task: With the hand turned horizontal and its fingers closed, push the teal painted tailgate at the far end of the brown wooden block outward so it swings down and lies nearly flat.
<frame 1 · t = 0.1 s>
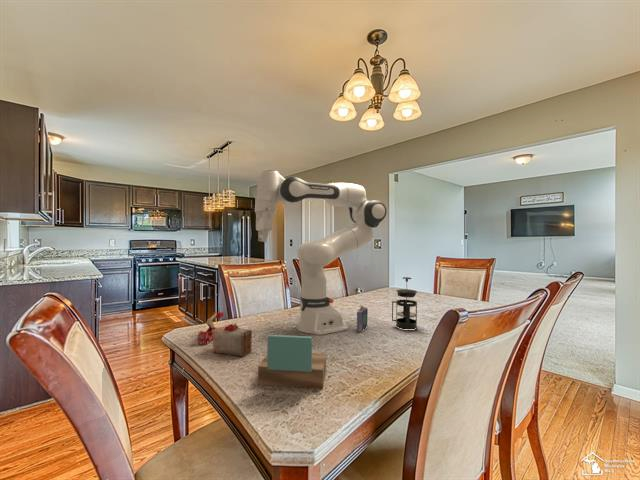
hand: (262, 241, 124), 39 cm above the table, tool pointing down, fingers open, 8 cm apart
grey paint-stained brick: (231, 352, 105), on the table
french press: (405, 328, 134), on the table
toy fire truck: (210, 339, 117), on the table
brown wooden block: (293, 376, 86), on the table
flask: (361, 330, 131), on the table
tailgate: (289, 353, 80), point 9 cm above the table, hinge at 0.0°
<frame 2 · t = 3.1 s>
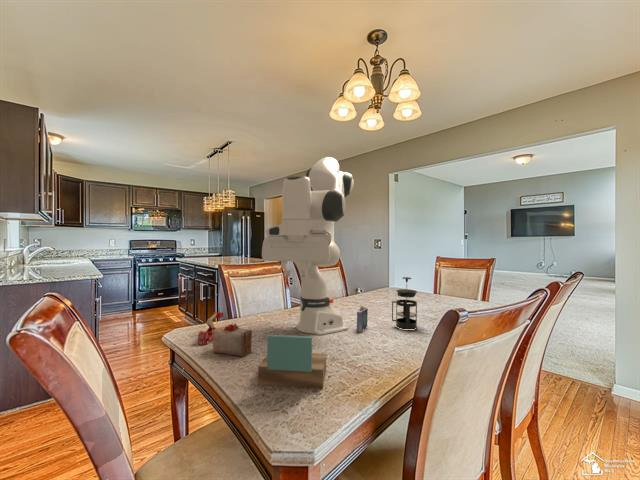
hand: (295, 276, 88), 29 cm above the table, tool pointing down, fingers open, 4 cm apart
nothing on the table moved.
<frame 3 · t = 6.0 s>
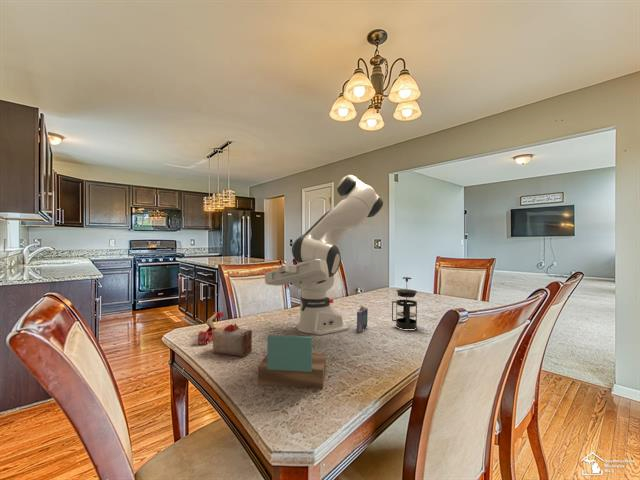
hand: (281, 269, 86), 31 cm above the table, tool horizontal, fingers closed
nothing on the table moved.
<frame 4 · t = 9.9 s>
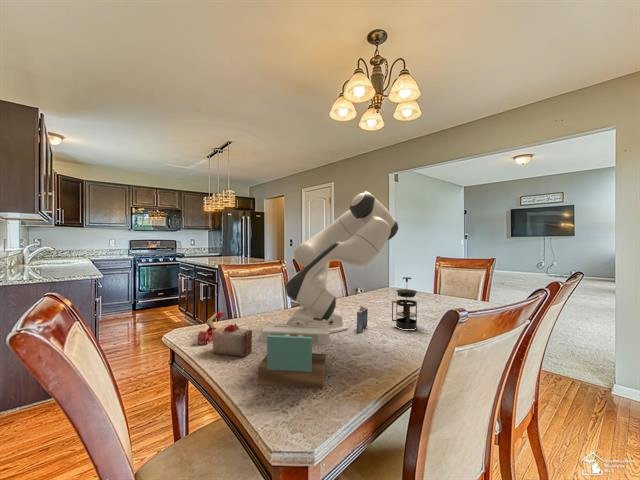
hand: (291, 344, 80), 12 cm above the table, tool horizontal, fingers closed, pressing on tailgate
tailgate: (289, 353, 80), point 10 cm above the table, hinge at 2.4°, touching gripper
everything else where it was.
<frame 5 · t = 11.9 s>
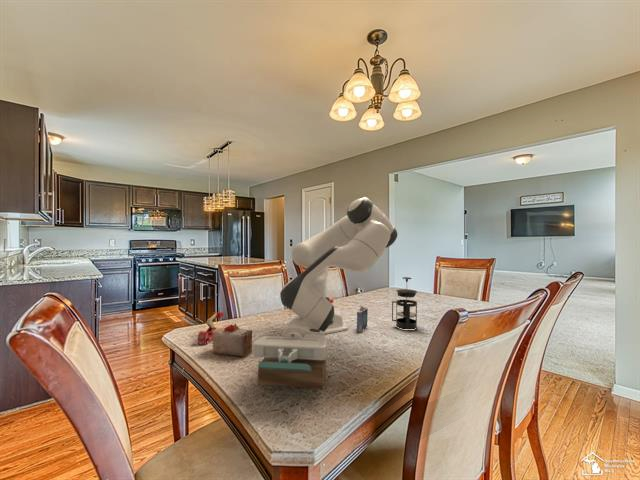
hand: (284, 359, 73), 10 cm above the table, tool horizontal, fingers closed, pressing on tailgate
tailgate: (286, 366, 75), point 8 cm above the table, hinge at 62.2°, touching gripper
everything else where it was.
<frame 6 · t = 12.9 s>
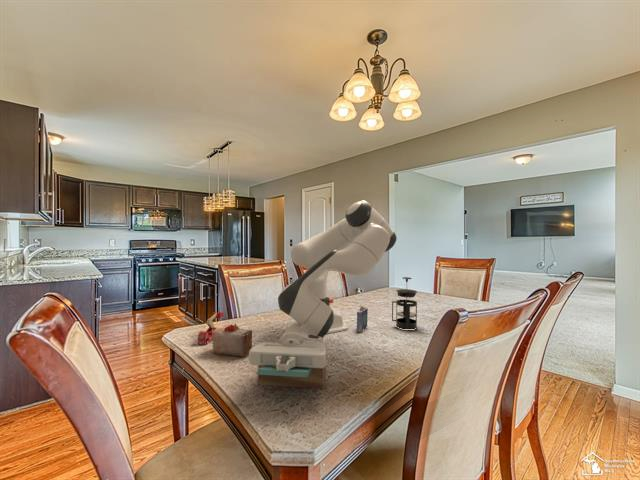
hand: (282, 368, 70), 10 cm above the table, tool horizontal, fingers closed, pressing on tailgate
tailgate: (285, 370, 75), point 7 cm above the table, hinge at 73.2°, touching gripper
everything else where it was.
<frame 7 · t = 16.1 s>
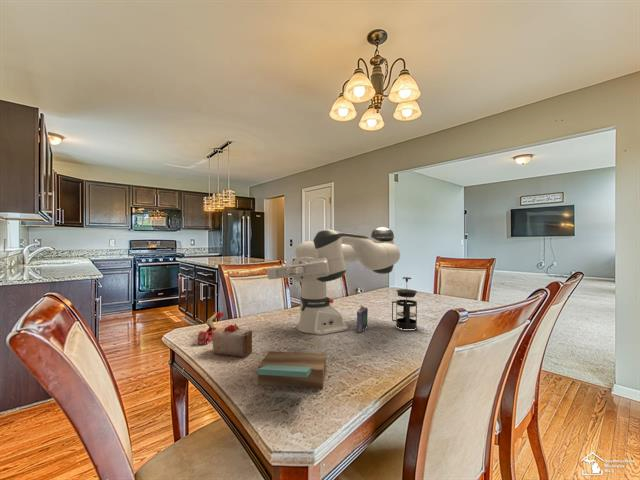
hand: (291, 271, 89), 30 cm above the table, tool horizontal, fingers closed
tailgate: (285, 370, 75), point 7 cm above the table, hinge at 73.3°
everything else where it was.
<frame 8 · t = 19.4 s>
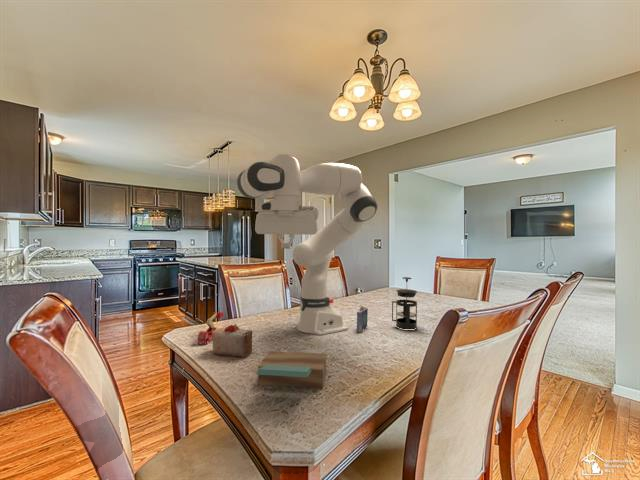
hand: (286, 248, 97), 37 cm above the table, tool pointing down, fingers closed
at the end: tailgate at +73° (first picture: +0°) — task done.
